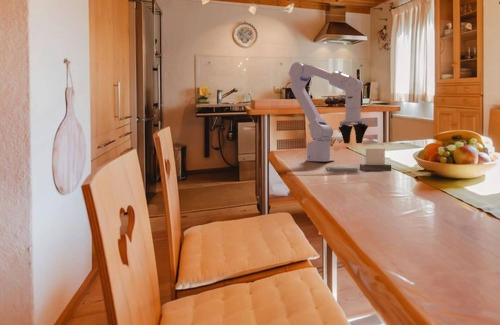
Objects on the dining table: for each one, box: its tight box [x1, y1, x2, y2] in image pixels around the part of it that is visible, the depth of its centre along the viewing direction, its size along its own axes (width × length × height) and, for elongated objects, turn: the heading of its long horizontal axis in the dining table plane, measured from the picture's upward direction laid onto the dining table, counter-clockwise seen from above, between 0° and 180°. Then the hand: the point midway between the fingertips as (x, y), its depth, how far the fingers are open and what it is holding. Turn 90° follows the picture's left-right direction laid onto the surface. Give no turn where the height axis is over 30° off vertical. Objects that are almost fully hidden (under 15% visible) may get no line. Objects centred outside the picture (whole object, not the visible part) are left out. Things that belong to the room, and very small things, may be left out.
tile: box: [325, 165, 359, 172], centre depth 123 cm, size 10×10×1 cm
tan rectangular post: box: [365, 147, 386, 165], centre depth 122 cm, size 3×6×8 cm, turn 88°
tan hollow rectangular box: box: [359, 163, 392, 172], centre depth 122 cm, size 7×10×2 cm
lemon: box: [416, 147, 426, 168], centre depth 118 cm, size 6×6×8 cm
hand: (352, 143), depth 131 cm, fingers open, 7 cm apart
